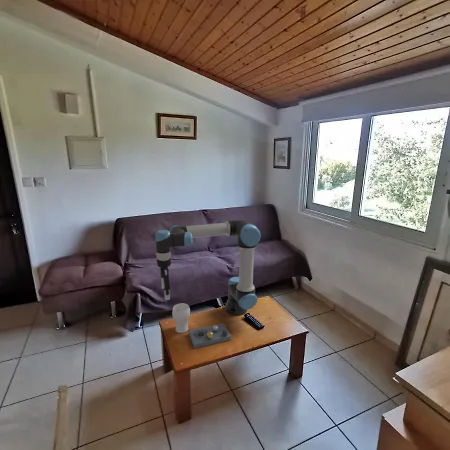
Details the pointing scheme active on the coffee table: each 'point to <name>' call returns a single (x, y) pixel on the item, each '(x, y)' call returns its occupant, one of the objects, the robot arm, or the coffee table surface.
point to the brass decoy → (210, 335)
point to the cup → (181, 317)
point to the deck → (203, 340)
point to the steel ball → (215, 328)
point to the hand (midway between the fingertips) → (165, 293)
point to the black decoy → (224, 332)
